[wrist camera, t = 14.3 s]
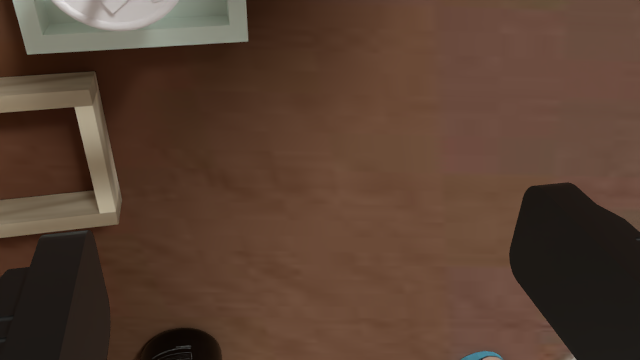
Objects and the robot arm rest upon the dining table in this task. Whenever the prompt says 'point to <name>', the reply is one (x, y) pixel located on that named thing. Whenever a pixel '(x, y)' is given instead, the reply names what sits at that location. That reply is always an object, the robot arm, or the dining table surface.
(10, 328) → the robot arm
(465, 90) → the dining table surface
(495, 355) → the cup
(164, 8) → the smoothie
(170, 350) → the supplement bottle
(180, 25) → the tray
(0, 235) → the rectangular wooden frame
